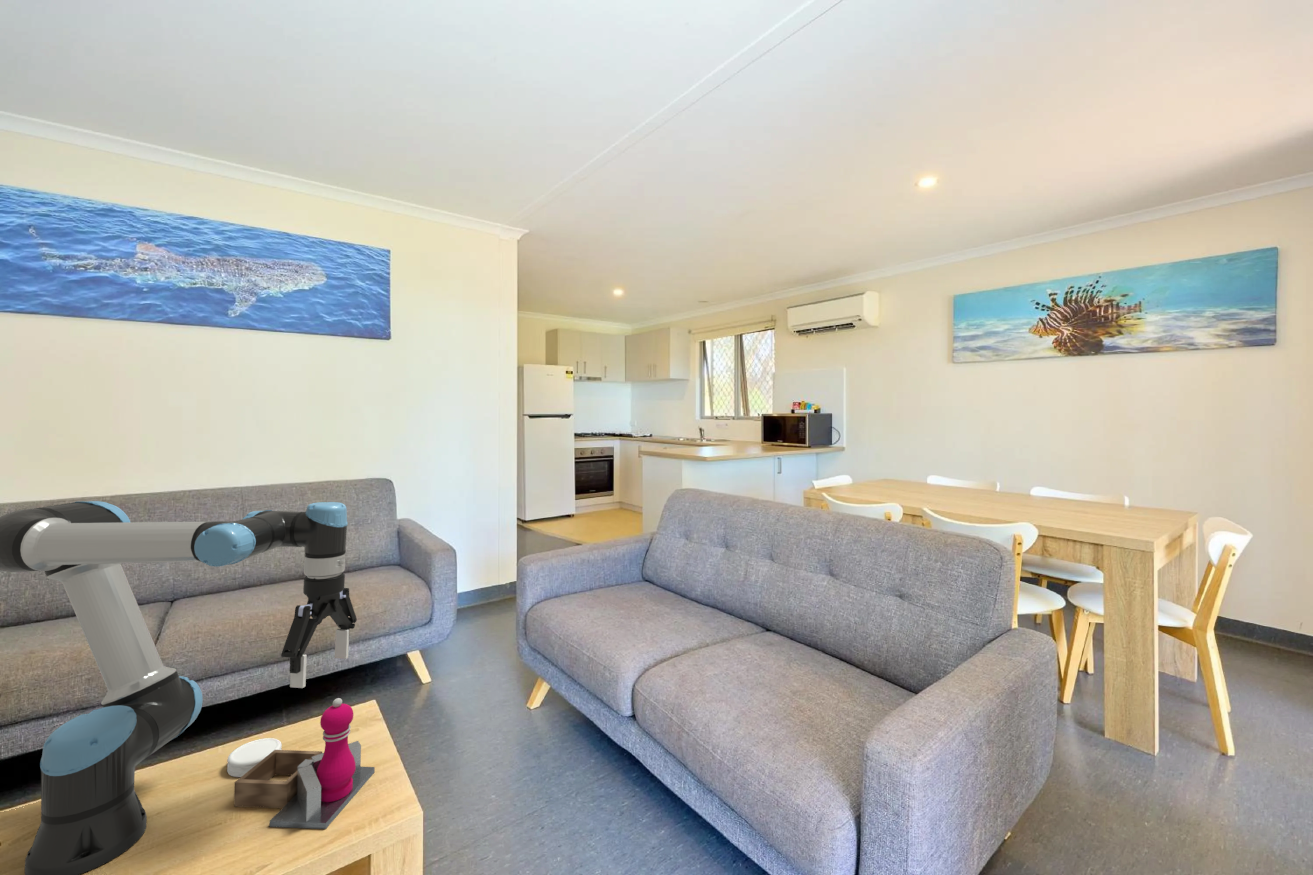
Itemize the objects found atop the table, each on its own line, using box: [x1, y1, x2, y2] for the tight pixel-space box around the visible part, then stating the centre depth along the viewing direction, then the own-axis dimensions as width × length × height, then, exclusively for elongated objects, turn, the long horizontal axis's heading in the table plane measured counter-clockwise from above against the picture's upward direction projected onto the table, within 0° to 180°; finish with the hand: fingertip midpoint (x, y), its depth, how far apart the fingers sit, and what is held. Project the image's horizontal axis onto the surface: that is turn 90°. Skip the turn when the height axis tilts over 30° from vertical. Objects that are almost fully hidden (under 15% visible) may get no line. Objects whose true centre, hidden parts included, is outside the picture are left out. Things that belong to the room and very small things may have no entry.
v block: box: [269, 740, 376, 830], centre depth 110 cm, size 17×11×7 cm, turn 179°
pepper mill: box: [316, 697, 356, 802], centre depth 110 cm, size 7×7×20 cm
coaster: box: [226, 737, 283, 778], centre depth 121 cm, size 10×10×4 cm
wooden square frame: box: [233, 749, 323, 809], centre depth 112 cm, size 11×11×5 cm
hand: (320, 671), depth 113 cm, fingers open, 13 cm apart
